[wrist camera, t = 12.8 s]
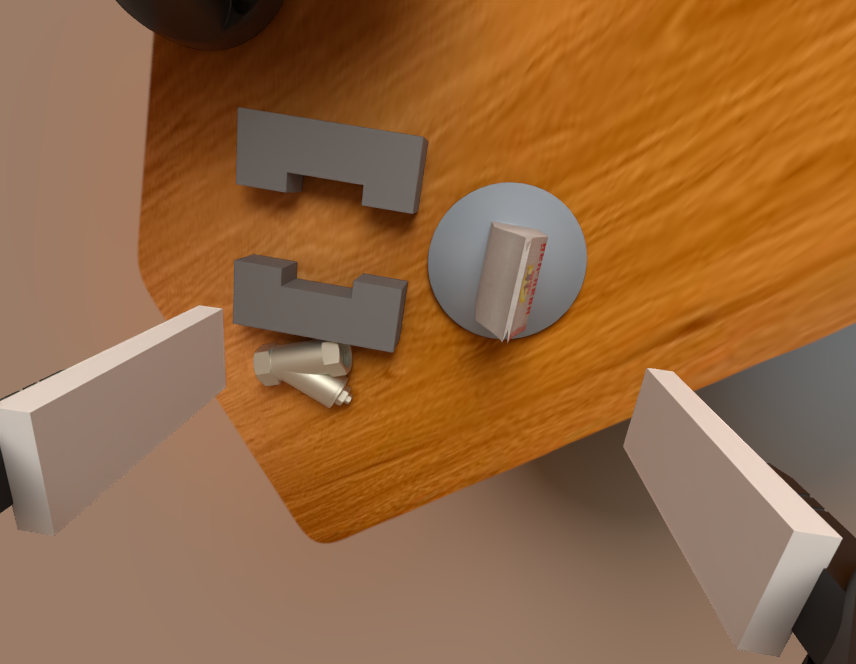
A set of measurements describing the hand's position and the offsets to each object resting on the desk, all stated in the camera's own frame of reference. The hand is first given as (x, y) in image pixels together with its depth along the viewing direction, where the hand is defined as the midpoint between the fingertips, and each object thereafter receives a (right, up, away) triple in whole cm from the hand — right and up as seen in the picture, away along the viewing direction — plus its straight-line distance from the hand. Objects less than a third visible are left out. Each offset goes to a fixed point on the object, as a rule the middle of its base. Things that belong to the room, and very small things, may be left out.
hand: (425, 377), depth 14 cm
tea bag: (+7, +7, +24) cm, 26 cm away
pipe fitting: (-11, -2, +30) cm, 32 cm away
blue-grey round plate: (+7, +7, +25) cm, 26 cm away
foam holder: (-8, +10, +25) cm, 28 cm away
